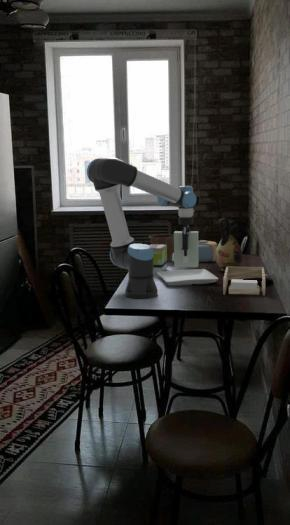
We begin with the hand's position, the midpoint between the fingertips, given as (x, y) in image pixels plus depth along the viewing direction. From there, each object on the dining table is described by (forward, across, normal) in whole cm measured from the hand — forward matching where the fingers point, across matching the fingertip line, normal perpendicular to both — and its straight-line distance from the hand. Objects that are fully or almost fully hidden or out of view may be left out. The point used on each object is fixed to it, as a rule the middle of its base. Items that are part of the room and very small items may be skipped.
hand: (186, 261), depth 274 cm
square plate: (+11, 0, 0) cm, 11 cm away
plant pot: (+11, +57, +22) cm, 62 cm away
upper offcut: (+8, -23, -30) cm, 39 cm away
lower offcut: (+11, -23, -30) cm, 39 cm away
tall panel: (+3, 0, 0) cm, 3 cm away
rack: (+10, -12, -30) cm, 34 cm away
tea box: (+11, +24, +20) cm, 33 cm away
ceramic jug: (+11, +30, -20) cm, 37 cm away
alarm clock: (+11, +66, -3) cm, 67 cm away
